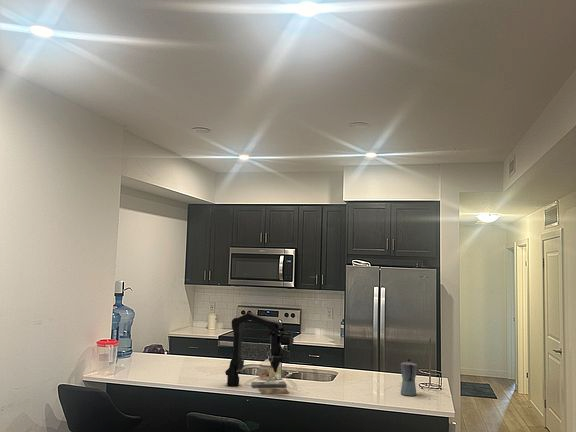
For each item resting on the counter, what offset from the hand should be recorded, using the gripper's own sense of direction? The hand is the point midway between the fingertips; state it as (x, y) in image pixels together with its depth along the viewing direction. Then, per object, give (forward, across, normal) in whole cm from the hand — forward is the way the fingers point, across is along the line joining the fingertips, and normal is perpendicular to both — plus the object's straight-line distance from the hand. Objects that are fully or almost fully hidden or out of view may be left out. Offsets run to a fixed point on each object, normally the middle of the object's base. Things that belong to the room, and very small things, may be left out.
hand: (274, 371), depth 308 cm
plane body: (+11, +12, +1) cm, 16 cm away
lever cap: (+1, 0, 0) cm, 1 cm away
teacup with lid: (+11, +33, -2) cm, 35 cm away
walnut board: (+11, 0, 0) cm, 11 cm away
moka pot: (+12, -13, -77) cm, 79 cm away
